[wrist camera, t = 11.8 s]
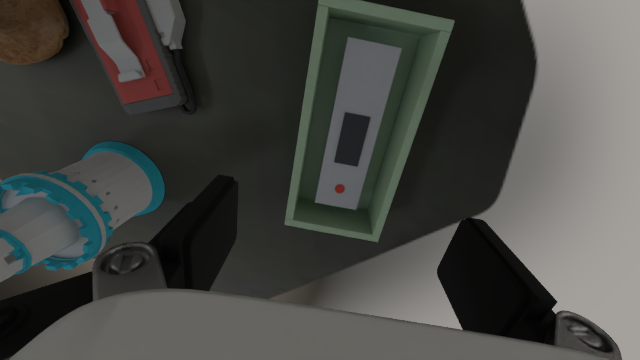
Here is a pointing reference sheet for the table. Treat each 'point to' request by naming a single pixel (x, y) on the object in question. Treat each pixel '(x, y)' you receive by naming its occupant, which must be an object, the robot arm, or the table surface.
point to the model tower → (74, 207)
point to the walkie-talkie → (139, 51)
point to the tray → (397, 122)
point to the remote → (355, 120)
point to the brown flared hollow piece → (31, 30)
